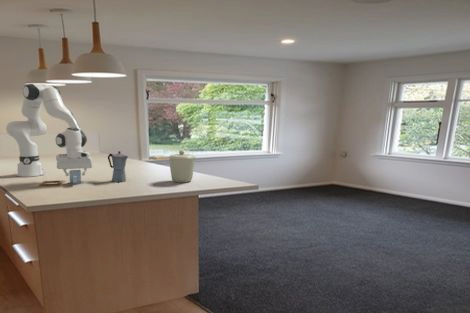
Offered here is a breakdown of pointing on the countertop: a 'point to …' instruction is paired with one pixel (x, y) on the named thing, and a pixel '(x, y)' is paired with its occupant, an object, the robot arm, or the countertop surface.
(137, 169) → the countertop surface
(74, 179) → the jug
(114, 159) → the moka pot
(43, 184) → the holder
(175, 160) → the canister
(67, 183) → the mat
